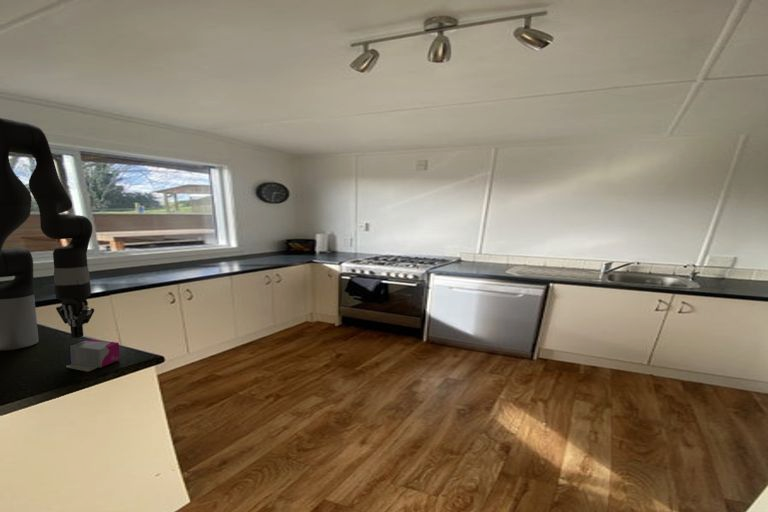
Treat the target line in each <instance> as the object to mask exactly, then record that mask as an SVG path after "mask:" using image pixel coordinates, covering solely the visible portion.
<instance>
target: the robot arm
mask: <svg viewBox="0 0 768 512" xmlns="http://www.w3.org/2000/svg"><path fill="white" fill-rule="evenodd" d="M10 153H13V154H14V153H15V154H21V155H29V156H30V155H31V156H33V158H34V161H35V163H36V164H35V167H34V168H33V169H34V170H33V171H32V173H31V175H30V177H29V179H28V187H27V186H26V185H25V184H24V182H22V180H21V179H20V178H19V177H18V176H17V174H16V173H15V171H14V170H13V168H12V166H11V162H10V157H9V156H10ZM32 198H34V200H35V202H36V204H37V207H38V210H39V211H38V212H39V221H40V230H41V232H42V233H43V234H44V235H45V236H46V237H48V238H49V239H52V240H68V239H69V240H70V241H69V243H68V244H67V245H65V246H61V247H60V246H59V247H57V248H54V250H53V252H52V257H53V259H52V260H53V268H54V269H53V283H54V291H55V293H54V294H55V298H56V299H57V300H59V301H60V300H61V303H60V304H61V305H60V306H56V308H55V310H56V311H57V313H58V315H59V316H60V318H61V320H62V322H63V323H64V324H66V325H68V327H70V337H71V339H72V338H73V339H79V338H82V337H84V328H83V327H84V325H86V324H88V323H89V322H90V320H91V318H92V316H93V314H94V313H95V308H93V307H91V308H90V307H89V306H88V305H89V301H87V298H88V297H90V296H91V294H92V291H91V290H92V289H91V277H90V271H89V267H88V266H89V265H88V255H87V252H88V248H89V246H90V245H89V244H90V240H91V238H92V233H93V225H92V222H91V220H90V219H89V218H88V217H87V216H85V215H79V214H78V215H76V214H62V213H66V212H68V211H70V210H71V209H72V207H73V203H72V200H71V199H70V196H69V195H68V193H67V191H66V189H65V187H64V185H63V183H62V181H61V178H60V177H59V174H58V170H57V167H56V163H55V160H54V156H53V154H52V150H51V147H50V143H49V142H48V139H47V136H46V134H45V133H44V131H43V129H41V127H40V126H37V125H35V124H31V123H28V122H23V121H19V120H12V119H9V118H2V117H0V278H9V277H14V278H13V279H12V280H11V281H10V282H8V283H6V284H3V285H1V286H0V351H13V350H18V349H22V348H27V347H31V346H33V345H35V344H38V343H39V341H40V340H39V331H38V321H37V319H38V318H37V312H36V311H37V310H36V303H35V301H36V300H35V292H34V291H35V290H34V287H35V283H34V280H35V279H34V258H33V256H32V253H31V252H30V250H29V249H27V248H23V247H22V248H20V247H19V248H3V247H4V243H5V242H6V240H7V238H9V236H10V235H11V234H13V232H15V231H16V230H17V229H19V228H20V227H21V226H22V225H23V224H24V223H25V222H26V221H27V220H28V219H29V217H30V215H31V212H32V210H31V208H32Z"/></svg>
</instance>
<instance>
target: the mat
mask: <svg viewBox="0 0 768 512" xmlns="http://www.w3.org/2000/svg"><path fill="white" fill-rule="evenodd" d="M65 367H66V368H68V369H73V370H78V371H83V372H87V373H88V372H91V371H93V370H96V369H98V368H100V367H93V366H85V365H76V364H68V365H66V366H65Z"/></svg>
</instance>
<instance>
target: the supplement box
mask: <svg viewBox="0 0 768 512" xmlns="http://www.w3.org/2000/svg"><path fill="white" fill-rule="evenodd" d="M68 355H69V357H68V358H69V365H71V364H76V365H85V366H93V367H99V368H102V367H105V366H108V365H110V364H113V363H115V362H117V361H119V360H121V358H120V355H121V354H120V343H119V342H118V341H117V342H114V341H106V340H96V339H85V340H83V341H79V342H76V343H74V344H71V345H68Z"/></svg>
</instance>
